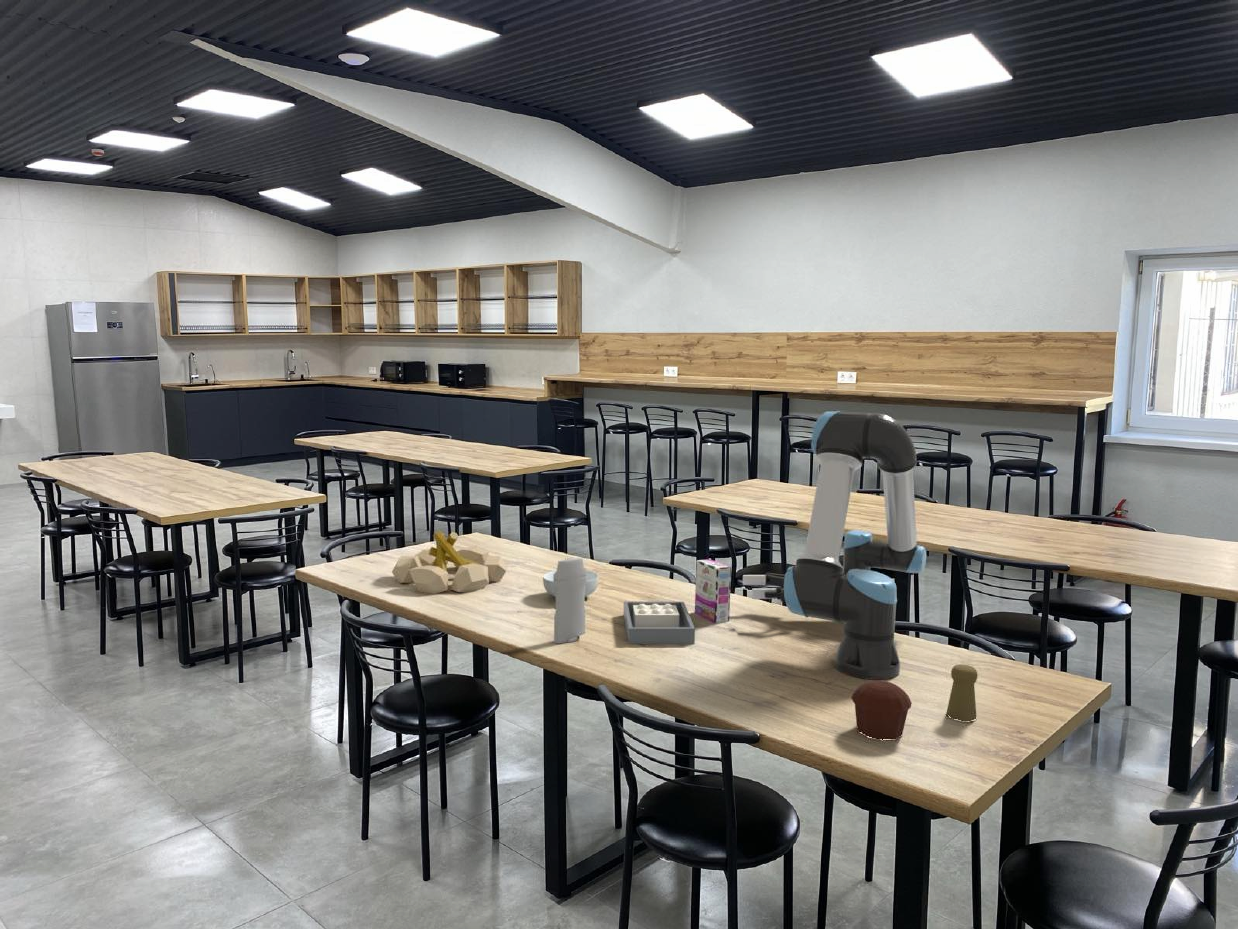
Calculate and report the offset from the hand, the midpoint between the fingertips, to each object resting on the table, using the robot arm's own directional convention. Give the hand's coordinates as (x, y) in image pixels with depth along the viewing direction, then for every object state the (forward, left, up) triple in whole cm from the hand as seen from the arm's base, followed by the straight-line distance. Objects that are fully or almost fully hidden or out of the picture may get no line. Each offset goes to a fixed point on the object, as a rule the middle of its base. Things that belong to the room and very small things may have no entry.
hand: (747, 586), depth 250 cm
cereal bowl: (+22, +50, -10) cm, 55 cm away
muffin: (-73, -13, -10) cm, 75 cm away
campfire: (+42, +89, -10) cm, 99 cm away
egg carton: (-6, +26, -9) cm, 28 cm away
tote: (-11, +26, -10) cm, 30 cm away
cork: (-66, -33, -10) cm, 75 cm away
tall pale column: (-17, +50, -10) cm, 54 cm away
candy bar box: (0, +10, -10) cm, 14 cm away
